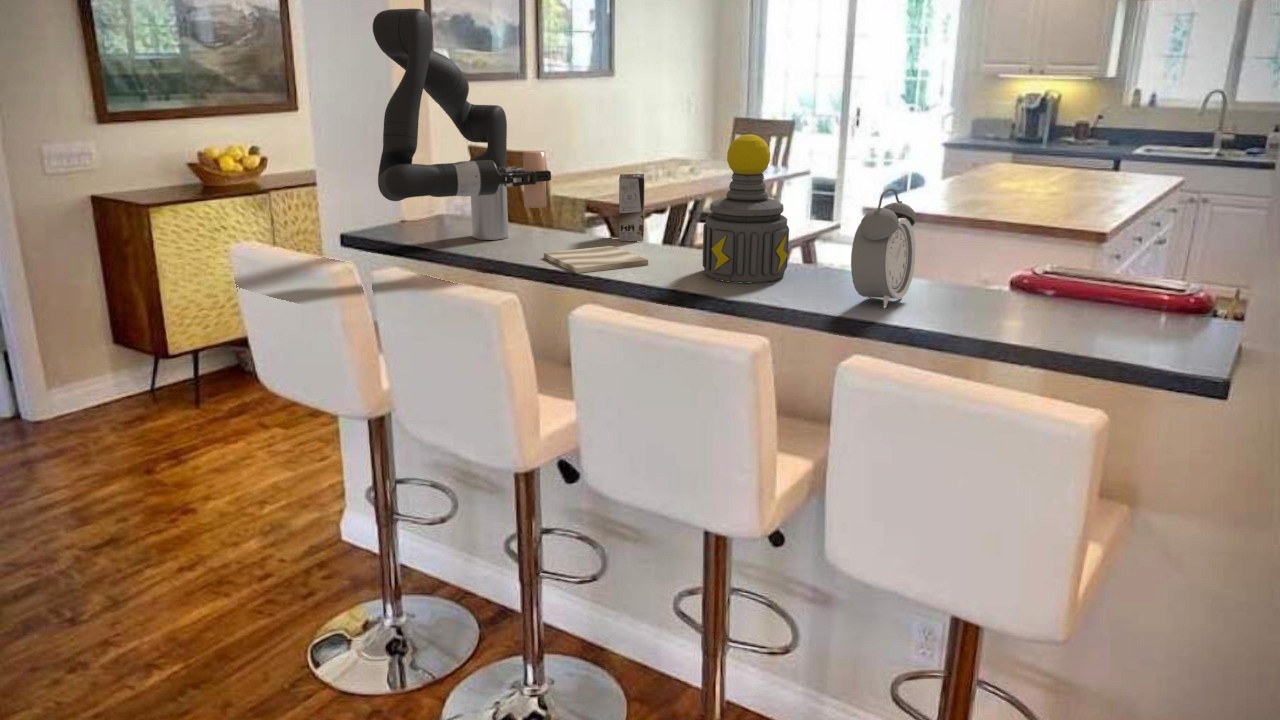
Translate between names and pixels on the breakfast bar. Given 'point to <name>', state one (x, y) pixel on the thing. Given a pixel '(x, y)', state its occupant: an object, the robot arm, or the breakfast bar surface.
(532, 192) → the terracotta canister
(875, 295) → the alarm clock
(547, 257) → the ash board
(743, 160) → the decorative lamp
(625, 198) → the coffee box
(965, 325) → the breakfast bar surface
